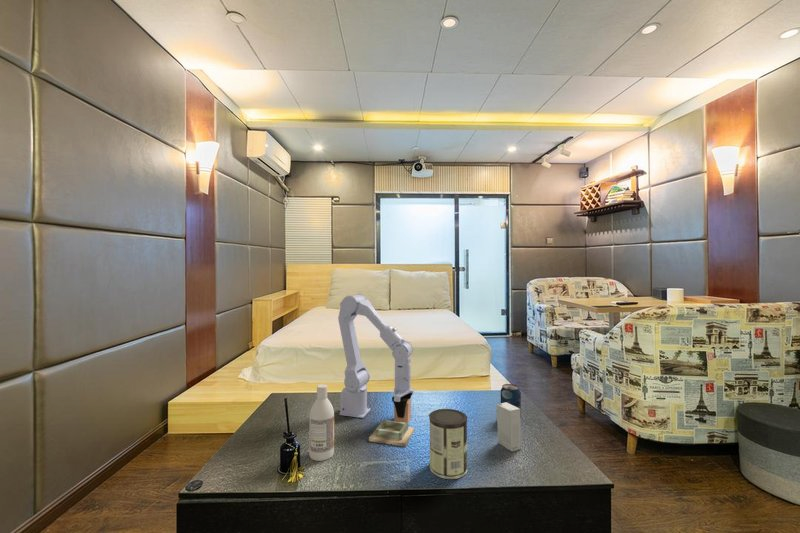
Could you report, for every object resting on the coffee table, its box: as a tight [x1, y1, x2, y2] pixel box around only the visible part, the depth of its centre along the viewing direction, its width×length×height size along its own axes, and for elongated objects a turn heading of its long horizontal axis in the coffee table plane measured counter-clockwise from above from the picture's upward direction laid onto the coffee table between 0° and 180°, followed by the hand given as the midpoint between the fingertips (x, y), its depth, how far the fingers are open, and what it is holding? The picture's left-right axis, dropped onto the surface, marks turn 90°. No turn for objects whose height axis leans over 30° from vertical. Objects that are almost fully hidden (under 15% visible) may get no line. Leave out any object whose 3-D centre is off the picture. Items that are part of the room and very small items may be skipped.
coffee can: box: [428, 408, 468, 480], centre depth 93 cm, size 10×10×14 cm
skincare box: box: [496, 402, 522, 452], centre depth 105 cm, size 6×4×12 cm
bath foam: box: [308, 384, 335, 462], centre depth 100 cm, size 7×7×20 cm
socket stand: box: [368, 419, 416, 447], centre depth 111 cm, size 12×11×3 cm
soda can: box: [500, 383, 522, 420], centre depth 123 cm, size 7×7×12 cm
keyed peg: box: [393, 398, 412, 424], centre depth 123 cm, size 5×4×7 cm
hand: (402, 414), depth 123 cm, fingers closed on keyed peg, 4 cm apart
